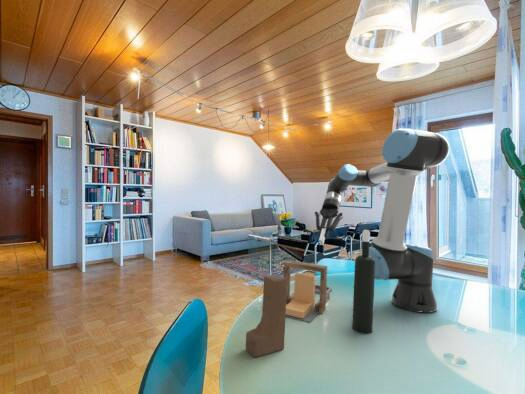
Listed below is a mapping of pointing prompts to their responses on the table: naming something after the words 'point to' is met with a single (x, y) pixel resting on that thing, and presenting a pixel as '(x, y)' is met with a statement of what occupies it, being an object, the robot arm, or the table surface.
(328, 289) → the pad
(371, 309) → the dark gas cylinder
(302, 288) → the tan l-shaped block
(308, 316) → the felt mat
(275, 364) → the table surface
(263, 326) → the wooden block
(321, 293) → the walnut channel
